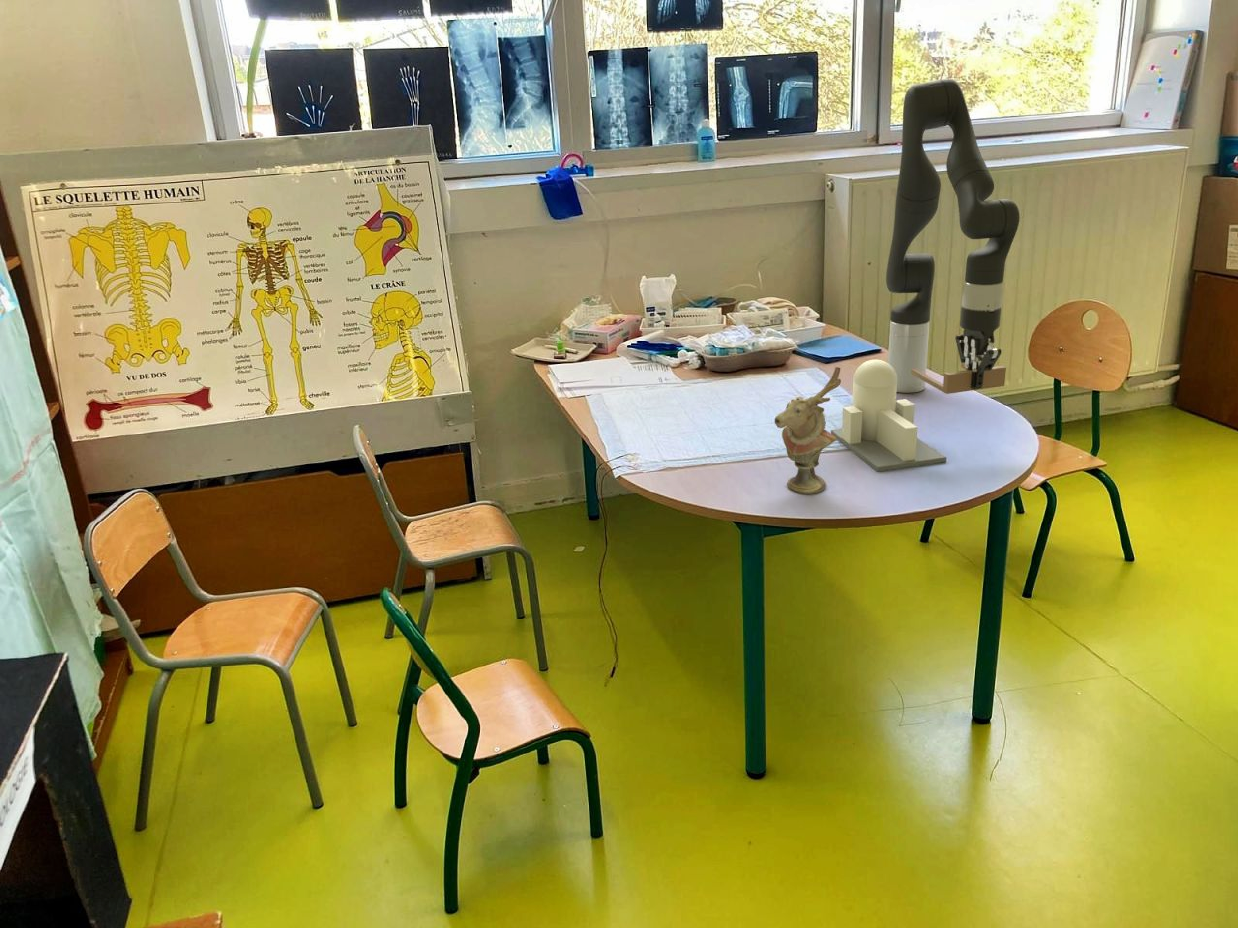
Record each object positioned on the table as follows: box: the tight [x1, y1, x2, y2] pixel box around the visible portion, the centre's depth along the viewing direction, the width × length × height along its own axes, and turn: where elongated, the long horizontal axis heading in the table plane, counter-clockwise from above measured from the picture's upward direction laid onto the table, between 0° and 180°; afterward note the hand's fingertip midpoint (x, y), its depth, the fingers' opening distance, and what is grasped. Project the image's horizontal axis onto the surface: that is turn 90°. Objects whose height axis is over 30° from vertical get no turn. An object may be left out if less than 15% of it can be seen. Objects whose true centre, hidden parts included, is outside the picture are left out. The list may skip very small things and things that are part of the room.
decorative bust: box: [774, 366, 842, 495], centre depth 175 cm, size 11×13×25 cm
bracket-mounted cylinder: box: [830, 359, 947, 472], centre depth 194 cm, size 22×15×18 cm, turn 12°
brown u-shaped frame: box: [911, 363, 1007, 395], centre depth 195 cm, size 14×13×4 cm
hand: (973, 387), depth 190 cm, fingers closed on brown u-shaped frame, 1 cm apart
